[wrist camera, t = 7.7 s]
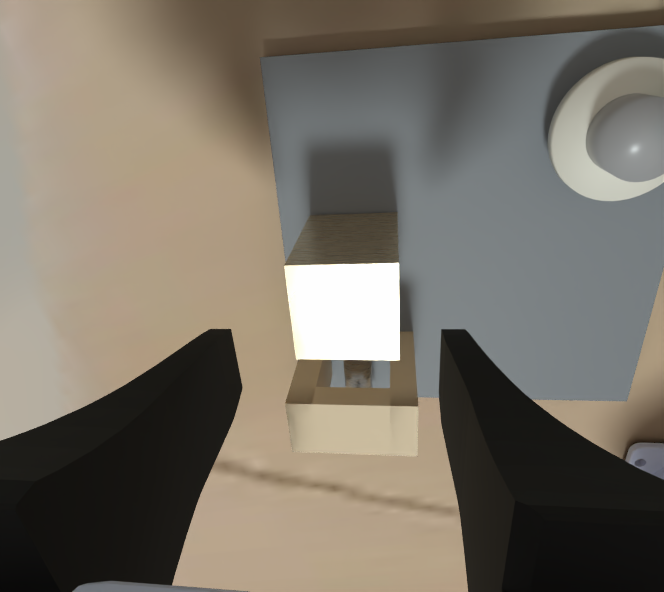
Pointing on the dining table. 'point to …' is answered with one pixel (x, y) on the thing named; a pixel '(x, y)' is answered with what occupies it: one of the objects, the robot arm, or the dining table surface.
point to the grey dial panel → (464, 222)
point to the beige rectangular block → (346, 291)
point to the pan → (612, 131)
